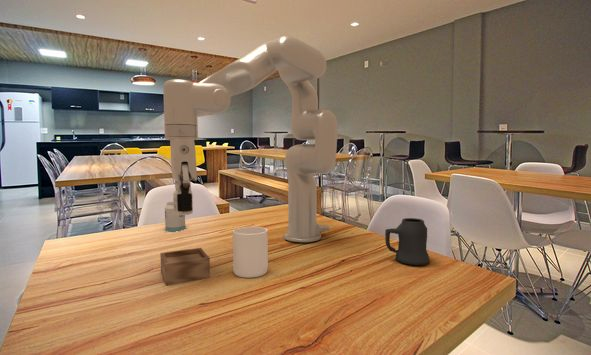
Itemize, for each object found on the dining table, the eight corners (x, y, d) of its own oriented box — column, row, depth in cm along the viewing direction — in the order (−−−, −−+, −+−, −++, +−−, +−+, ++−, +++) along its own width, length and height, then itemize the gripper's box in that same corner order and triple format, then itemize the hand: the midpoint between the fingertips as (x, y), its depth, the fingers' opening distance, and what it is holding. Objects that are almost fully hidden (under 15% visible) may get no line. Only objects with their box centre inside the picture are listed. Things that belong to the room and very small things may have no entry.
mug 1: (273, 263, 91) (273, 224, 90) (263, 279, 79) (263, 234, 78) (242, 262, 92) (242, 223, 91) (228, 277, 80) (227, 233, 79)
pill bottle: (186, 216, 78) (186, 183, 78) (170, 215, 79) (169, 182, 79) (196, 212, 83) (195, 181, 82) (180, 212, 84) (179, 181, 83)
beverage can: (181, 237, 120) (180, 204, 119) (162, 237, 120) (161, 204, 119) (188, 232, 127) (187, 201, 126) (170, 232, 127) (169, 201, 126)
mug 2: (422, 254, 98) (423, 216, 97) (435, 264, 89) (436, 223, 88) (381, 254, 98) (382, 216, 97) (389, 264, 89) (390, 223, 88)
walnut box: (201, 266, 89) (200, 247, 88) (210, 279, 80) (209, 257, 79) (160, 273, 84) (160, 252, 84) (165, 286, 75) (164, 264, 75)
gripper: (203, 131, 74) (205, 213, 75) (192, 135, 89) (194, 203, 90) (167, 130, 70) (169, 216, 72) (162, 135, 86) (164, 205, 87)
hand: (183, 208), depth 81 cm, fingers closed on pill bottle, 4 cm apart
